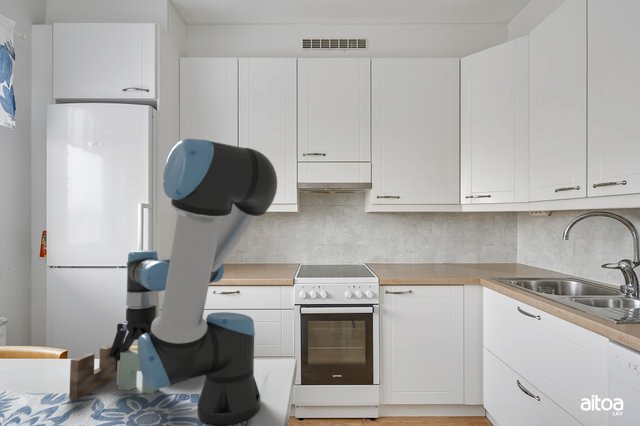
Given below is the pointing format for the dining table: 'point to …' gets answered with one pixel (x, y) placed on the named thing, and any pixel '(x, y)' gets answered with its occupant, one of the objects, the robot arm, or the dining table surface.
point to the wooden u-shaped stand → (91, 372)
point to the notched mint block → (131, 372)
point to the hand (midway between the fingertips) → (139, 385)
